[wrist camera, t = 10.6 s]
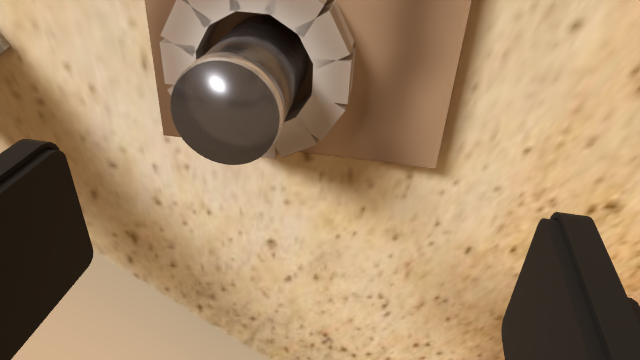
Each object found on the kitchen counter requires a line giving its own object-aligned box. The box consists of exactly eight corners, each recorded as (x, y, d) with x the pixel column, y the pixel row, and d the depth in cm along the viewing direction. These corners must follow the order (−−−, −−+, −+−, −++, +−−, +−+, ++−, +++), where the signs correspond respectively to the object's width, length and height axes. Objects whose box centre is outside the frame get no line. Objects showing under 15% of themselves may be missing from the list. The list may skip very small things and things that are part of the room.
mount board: (474, -43, 26) (485, -27, 22) (434, 152, 33) (437, 189, 29) (152, -68, 28) (113, -58, 24) (175, 121, 34) (147, 152, 31)
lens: (312, 17, 27) (280, 68, 20) (308, 104, 30) (279, 173, 23) (221, 8, 28) (161, 54, 21) (225, 94, 30) (174, 159, 24)
